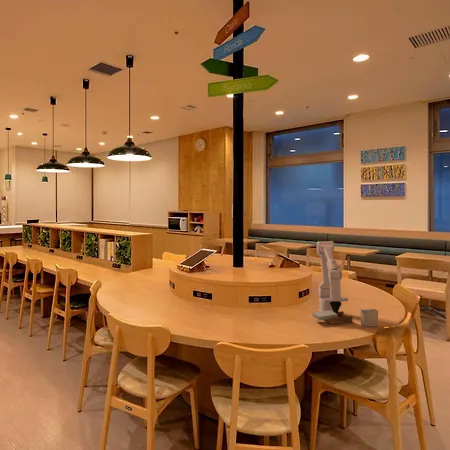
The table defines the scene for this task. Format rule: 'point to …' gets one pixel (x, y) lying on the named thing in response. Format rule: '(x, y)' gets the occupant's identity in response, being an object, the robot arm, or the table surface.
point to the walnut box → (339, 319)
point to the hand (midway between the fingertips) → (335, 314)
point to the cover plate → (324, 315)
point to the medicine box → (369, 317)
